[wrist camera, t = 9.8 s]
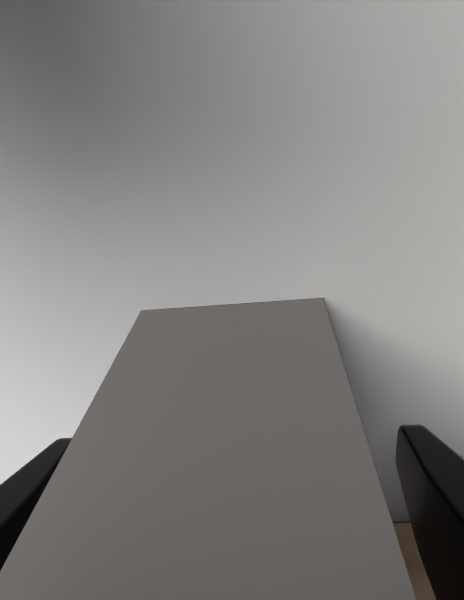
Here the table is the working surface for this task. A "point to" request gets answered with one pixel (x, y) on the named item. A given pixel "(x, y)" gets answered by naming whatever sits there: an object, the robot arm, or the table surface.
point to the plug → (216, 472)
